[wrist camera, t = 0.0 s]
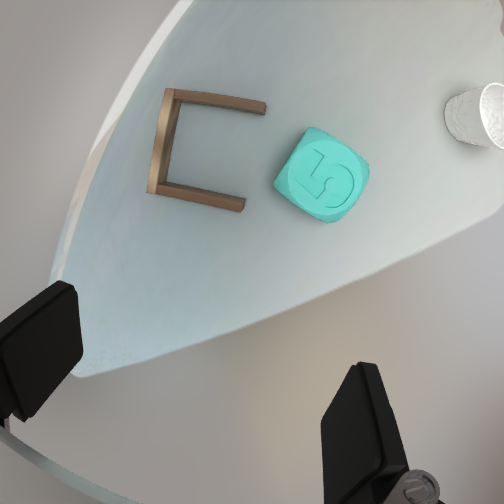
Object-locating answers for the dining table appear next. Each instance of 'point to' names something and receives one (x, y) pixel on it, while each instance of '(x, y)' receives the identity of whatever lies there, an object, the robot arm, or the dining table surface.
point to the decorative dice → (323, 176)
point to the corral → (165, 143)
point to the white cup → (478, 116)
